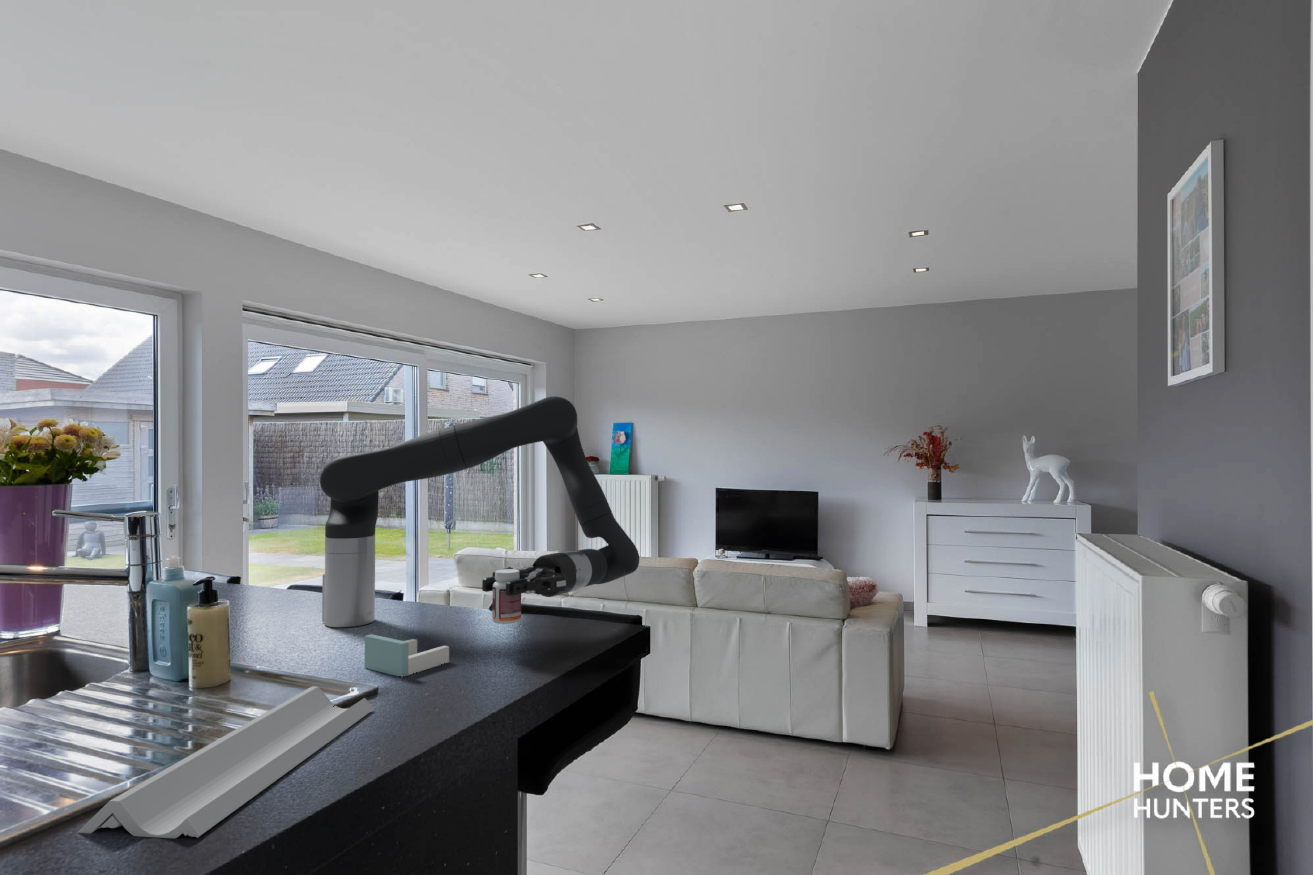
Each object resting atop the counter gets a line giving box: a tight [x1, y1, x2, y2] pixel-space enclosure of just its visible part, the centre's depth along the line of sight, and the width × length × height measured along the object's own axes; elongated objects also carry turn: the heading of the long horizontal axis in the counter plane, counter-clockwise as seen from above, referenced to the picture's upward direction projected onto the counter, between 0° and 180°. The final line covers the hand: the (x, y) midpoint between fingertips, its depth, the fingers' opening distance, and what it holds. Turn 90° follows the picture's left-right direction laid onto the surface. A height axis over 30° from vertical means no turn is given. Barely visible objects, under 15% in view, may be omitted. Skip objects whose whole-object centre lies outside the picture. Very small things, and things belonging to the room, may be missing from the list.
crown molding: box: [77, 685, 375, 839], centre depth 79 cm, size 31×12×4 cm, turn 174°
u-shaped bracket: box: [364, 634, 450, 678], centre depth 114 cm, size 9×9×5 cm
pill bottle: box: [491, 568, 522, 625], centre depth 120 cm, size 5×5×8 cm
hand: (495, 587), depth 118 cm, fingers closed on pill bottle, 4 cm apart
